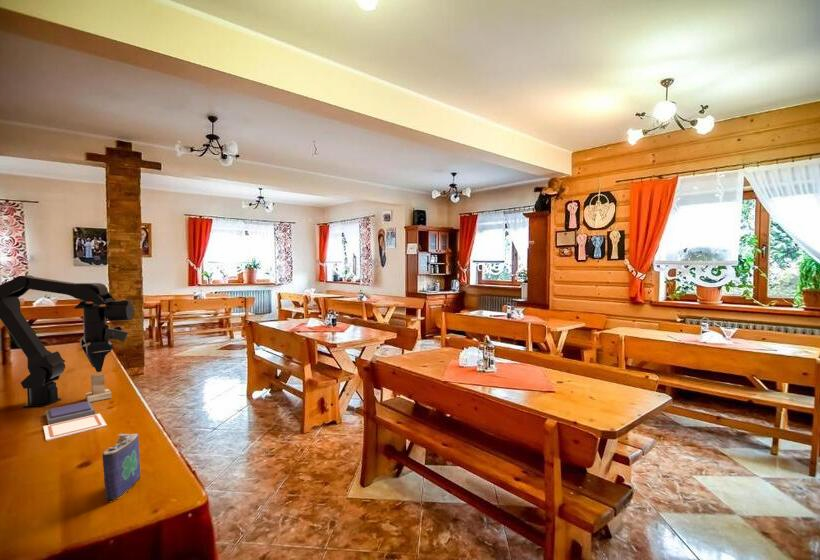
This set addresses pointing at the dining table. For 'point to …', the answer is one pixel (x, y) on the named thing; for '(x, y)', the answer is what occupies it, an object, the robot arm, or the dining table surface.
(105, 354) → the robot arm
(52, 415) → the ink pad
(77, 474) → the dining table surface
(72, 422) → the print card
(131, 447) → the flask
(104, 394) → the stamp
